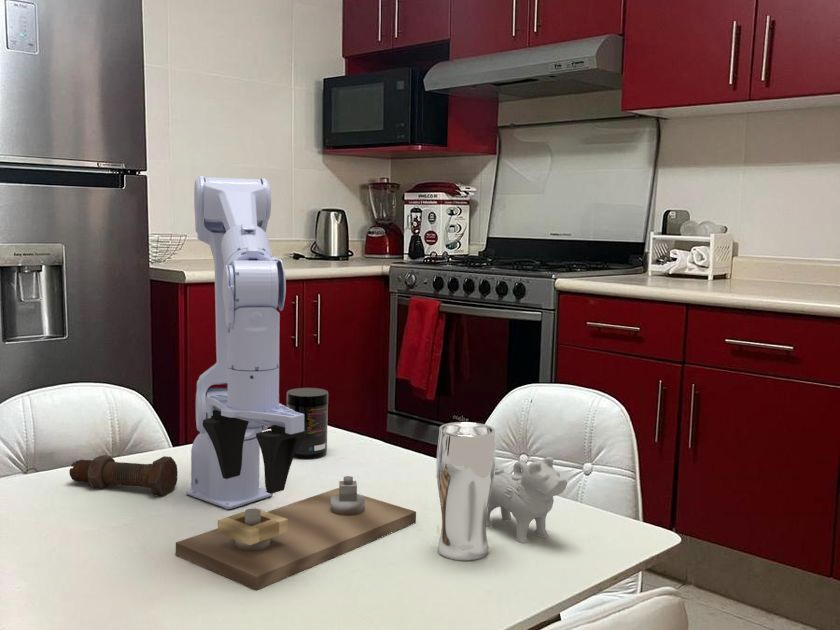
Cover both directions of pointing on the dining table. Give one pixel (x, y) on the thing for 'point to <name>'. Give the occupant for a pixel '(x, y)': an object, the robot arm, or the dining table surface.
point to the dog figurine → (526, 495)
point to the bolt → (127, 474)
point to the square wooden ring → (252, 527)
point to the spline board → (298, 536)
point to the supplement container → (311, 420)
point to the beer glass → (465, 488)
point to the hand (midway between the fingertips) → (252, 483)
